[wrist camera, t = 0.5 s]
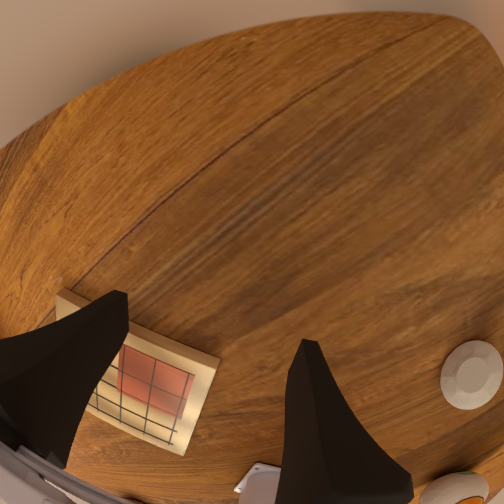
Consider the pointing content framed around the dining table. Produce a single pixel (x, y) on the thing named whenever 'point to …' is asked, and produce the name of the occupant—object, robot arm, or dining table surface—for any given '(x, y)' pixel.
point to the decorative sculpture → (456, 489)
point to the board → (149, 384)
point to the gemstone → (471, 375)
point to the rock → (134, 501)
